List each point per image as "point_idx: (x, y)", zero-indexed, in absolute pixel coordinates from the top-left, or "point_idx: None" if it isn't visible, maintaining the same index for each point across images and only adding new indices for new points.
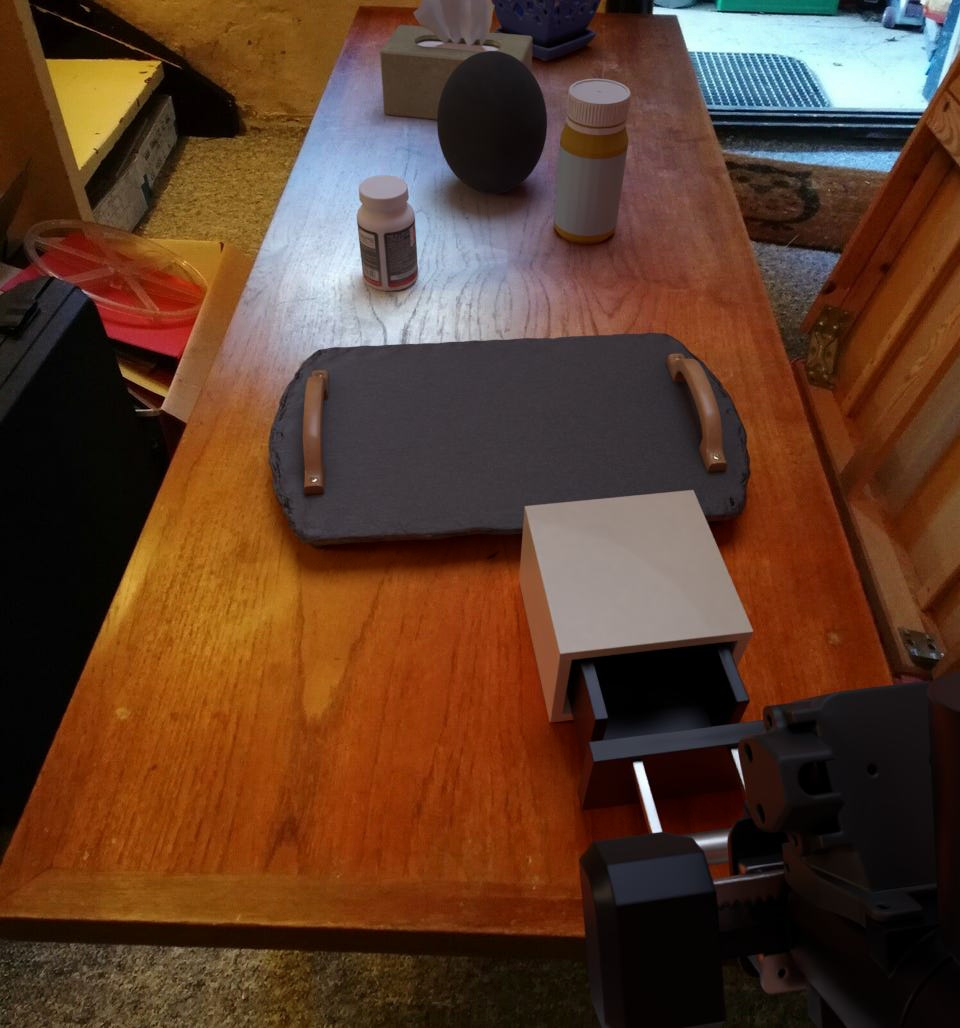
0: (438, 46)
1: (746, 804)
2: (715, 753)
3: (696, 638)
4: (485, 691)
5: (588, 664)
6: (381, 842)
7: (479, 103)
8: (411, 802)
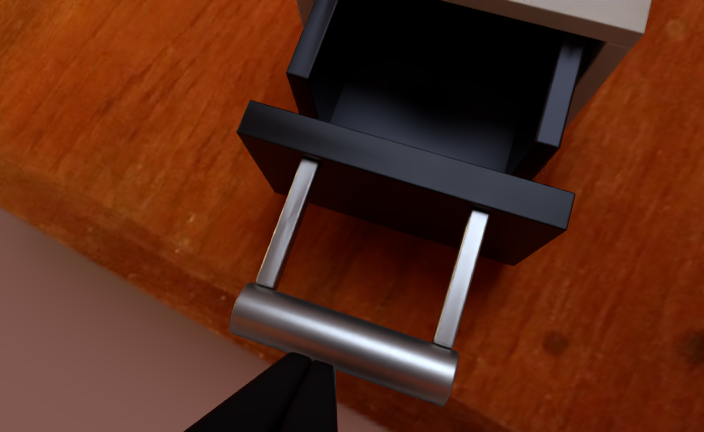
0: None
1: (276, 367)
2: (447, 204)
3: (528, 5)
4: (261, 4)
5: None
6: (48, 125)
7: None
8: (104, 96)
